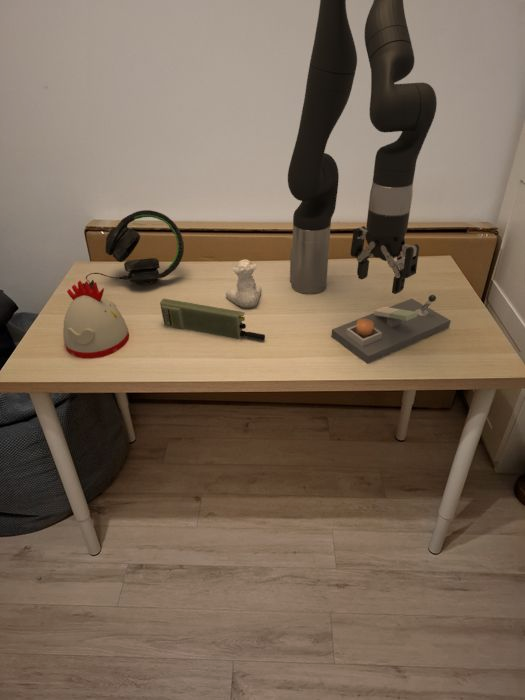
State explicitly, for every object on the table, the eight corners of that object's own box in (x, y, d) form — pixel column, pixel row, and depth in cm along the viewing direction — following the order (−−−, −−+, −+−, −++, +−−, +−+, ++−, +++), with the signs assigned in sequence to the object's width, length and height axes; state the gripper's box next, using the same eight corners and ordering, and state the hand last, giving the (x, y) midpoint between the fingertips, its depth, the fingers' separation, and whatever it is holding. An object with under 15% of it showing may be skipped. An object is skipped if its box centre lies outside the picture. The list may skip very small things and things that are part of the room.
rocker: (374, 314, 111) (373, 310, 111) (384, 310, 113) (384, 306, 112) (406, 320, 103) (406, 316, 102) (417, 316, 104) (416, 311, 104)
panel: (331, 336, 109) (332, 323, 107) (410, 305, 119) (412, 292, 117) (367, 363, 101) (369, 350, 99) (448, 327, 111) (452, 314, 109)
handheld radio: (169, 319, 116) (267, 337, 109) (162, 327, 114) (262, 346, 107) (164, 296, 112) (266, 313, 105) (158, 303, 110) (261, 321, 103)
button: (352, 329, 105) (353, 321, 104) (364, 324, 106) (365, 316, 105) (363, 337, 102) (364, 329, 101) (376, 332, 104) (377, 324, 103)
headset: (112, 313, 135) (197, 254, 133) (100, 320, 121) (194, 254, 120) (72, 259, 131) (159, 198, 130) (54, 260, 118) (151, 192, 116)
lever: (417, 309, 113) (429, 294, 108) (422, 307, 113) (434, 292, 109) (421, 314, 112) (433, 299, 107) (426, 312, 113) (438, 297, 108)
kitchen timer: (114, 361, 103) (99, 300, 94) (54, 356, 105) (34, 295, 96) (138, 325, 114) (126, 268, 105) (83, 321, 116) (67, 264, 107)
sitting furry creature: (260, 291, 126) (259, 248, 119) (269, 307, 120) (269, 263, 113) (225, 296, 125) (222, 253, 117) (232, 313, 118) (229, 269, 111)
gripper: (434, 211, 86) (419, 291, 95) (371, 193, 95) (363, 268, 104) (409, 222, 82) (396, 304, 92) (346, 202, 91) (340, 279, 100)
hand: (378, 285), depth 98 cm, fingers open, 8 cm apart
